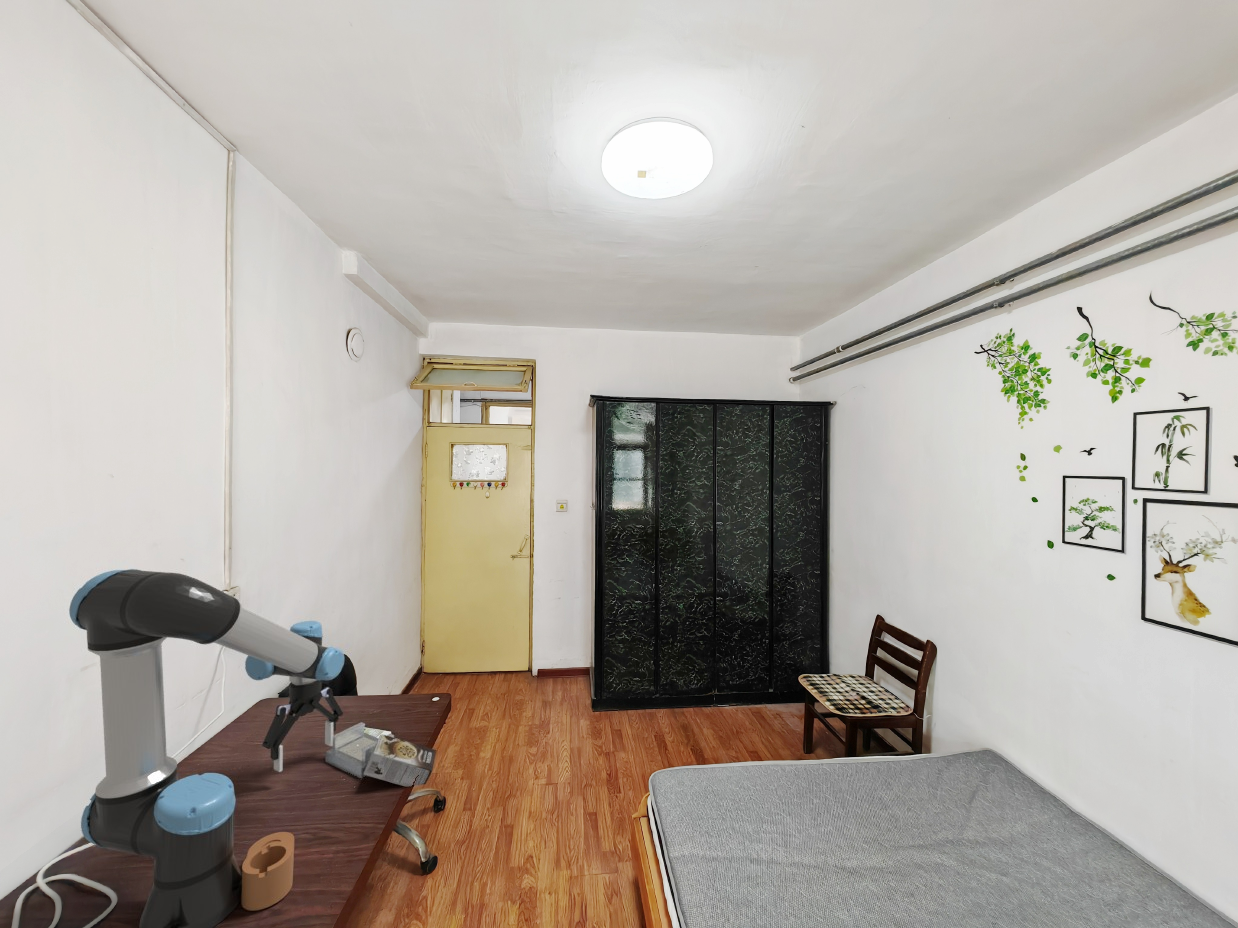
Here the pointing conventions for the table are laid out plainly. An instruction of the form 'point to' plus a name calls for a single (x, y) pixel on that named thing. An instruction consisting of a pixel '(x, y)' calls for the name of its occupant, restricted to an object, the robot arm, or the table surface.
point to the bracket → (268, 871)
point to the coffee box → (400, 762)
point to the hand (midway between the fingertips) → (304, 756)
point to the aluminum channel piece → (352, 750)
